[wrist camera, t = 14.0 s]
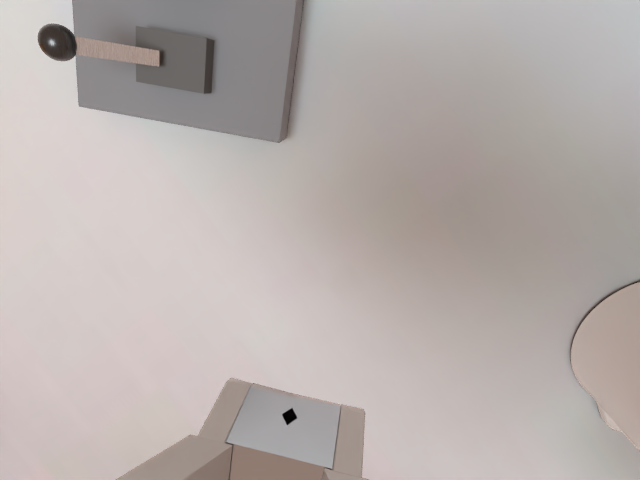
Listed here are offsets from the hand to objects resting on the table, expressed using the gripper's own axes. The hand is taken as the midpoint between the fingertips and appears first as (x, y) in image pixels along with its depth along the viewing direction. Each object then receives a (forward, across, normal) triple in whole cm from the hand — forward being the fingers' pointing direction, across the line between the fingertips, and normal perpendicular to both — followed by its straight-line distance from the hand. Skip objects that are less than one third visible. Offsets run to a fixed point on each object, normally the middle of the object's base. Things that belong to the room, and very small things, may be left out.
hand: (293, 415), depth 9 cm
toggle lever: (+22, +15, -6) cm, 27 cm away
